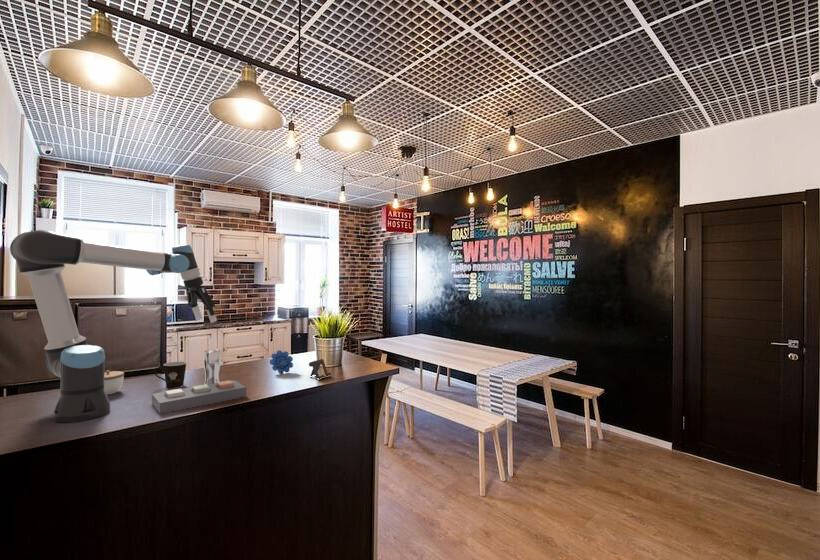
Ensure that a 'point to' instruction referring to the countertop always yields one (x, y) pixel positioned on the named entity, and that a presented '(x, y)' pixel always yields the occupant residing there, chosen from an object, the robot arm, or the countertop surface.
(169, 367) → the coffee mug
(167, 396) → the cream key
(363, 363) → the countertop surface
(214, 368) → the beer glass
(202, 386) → the sage key
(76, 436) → the countertop surface
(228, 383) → the terracotta key
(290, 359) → the blue gear
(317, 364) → the portable electronic device stand
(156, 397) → the keypad
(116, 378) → the lidded jar
